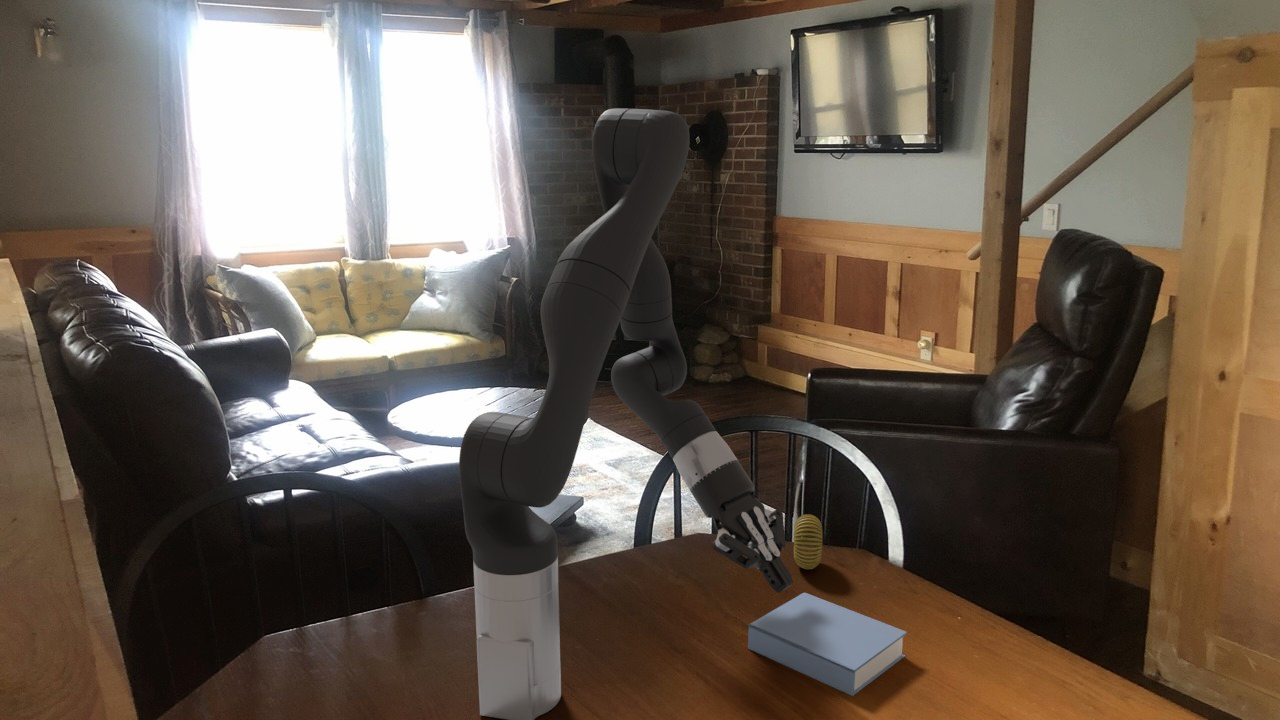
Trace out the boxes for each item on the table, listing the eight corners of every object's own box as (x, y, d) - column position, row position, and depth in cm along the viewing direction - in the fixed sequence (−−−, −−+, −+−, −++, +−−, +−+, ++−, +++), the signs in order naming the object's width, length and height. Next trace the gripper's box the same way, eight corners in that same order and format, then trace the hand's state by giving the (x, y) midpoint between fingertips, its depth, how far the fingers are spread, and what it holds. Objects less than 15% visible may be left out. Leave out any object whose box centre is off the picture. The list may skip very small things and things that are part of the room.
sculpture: (821, 579, 138) (823, 527, 136) (793, 577, 138) (795, 526, 136) (819, 556, 145) (822, 506, 144) (793, 554, 146) (794, 505, 144)
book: (803, 616, 128) (905, 657, 118) (747, 650, 119) (852, 698, 109) (804, 592, 127) (906, 631, 117) (748, 624, 119) (853, 670, 108)
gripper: (695, 472, 120) (772, 593, 114) (759, 447, 129) (833, 559, 123) (664, 501, 124) (736, 619, 119) (728, 475, 134) (798, 583, 128)
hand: (785, 588), depth 121 cm, fingers closed
